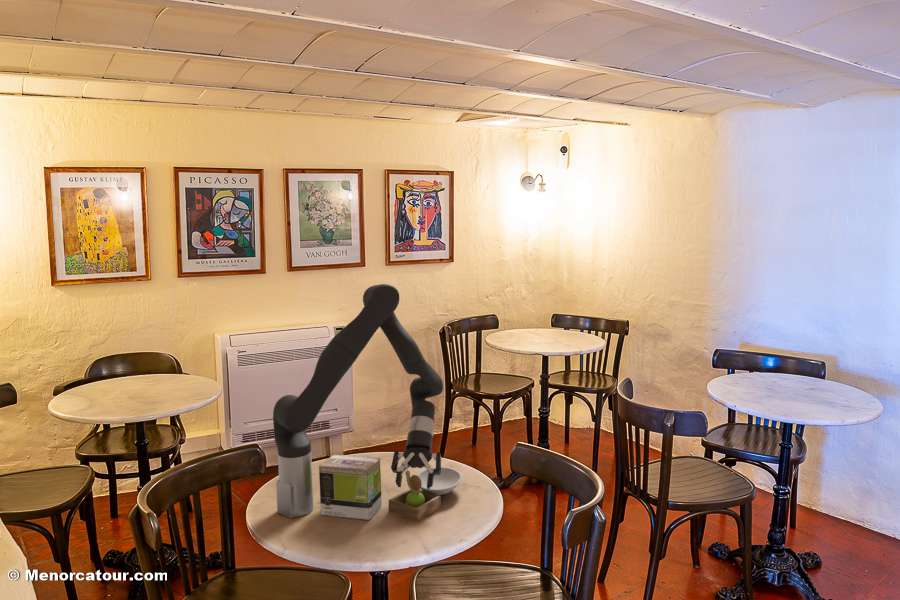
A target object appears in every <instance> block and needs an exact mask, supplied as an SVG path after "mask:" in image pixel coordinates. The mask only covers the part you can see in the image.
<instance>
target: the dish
mask: <svg viewBox="0 0 900 600" xmlns="http://www.w3.org/2000/svg"><path fill="white" fill-rule="evenodd" d="M431 468H432V469H436V466H434V467H432V466H431ZM428 474H429V473H428V471H427V470H426V468H425V469H422V470H421V471H419V472H418V473H417V474H416V475H417V476H418V477H419V478H420V479H421V483H422V485H421V488H420V490H423V491H426V492H429V493H432V494H435V495H438V496H442V495H446V494H448V493H451V492H452V491H453V490H454V489H456V488H457V486H458V485H459V484H460V483H461V482H462V480H463V474H462V473H461V472H460V471H459V470H457V469H455V468H453V467H448V466H441V474H440V475H435V476H434V479H433V486H432V487H430V489H427V480H428Z"/></svg>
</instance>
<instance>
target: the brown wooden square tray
mask: <svg viewBox="0 0 900 600" xmlns="http://www.w3.org/2000/svg"><path fill="white" fill-rule="evenodd" d="M420 490H421V493H422V494H423V496H424V498H425V503H424V504H423V505H421V506H419V507H417V508H416V507H413V506H410V505H407V504H406V498H407V495H408V494H409V493H410V492H412V490H411V489H410V488H409V489H406V490H404V491H402V492H401V493H399V494H397V495H395V496H393V497H391V498H390V499H388V512H389V513H391V514H395V515H397V516H400V517H403V518H406V519H408V520H412V521H415V522H419V521H422V520H423V519H424V518H427V517H428V516H430V515H431V514H433V513H435V512H436V511H438V510H440V509H441V507H442V500H441V498H442V497H441V496H442V495H435V494H432V493H429V492H426V491H423V490H422V489H420Z"/></svg>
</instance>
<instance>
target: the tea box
mask: <svg viewBox="0 0 900 600" xmlns="http://www.w3.org/2000/svg"><path fill="white" fill-rule="evenodd" d="M381 472H382V471H381V458H380V457H370V456H357V455H347V454H345V455H344V454H332V455H331V456H330V457H329V458H328V459H326V460H325V461H323V462H322V463H321V464H319V466H318V477H319V500H320V501H319V502H320V514H321V515H322V516H332V517H338V518H340V517H341V518H349V519H357V520H359V519H360V520H367V521H370V520H371V518H372V517H374V515H375V514H376V513H377V512H378V511H379V509H380V508H381V507H382V478H381V477H382V474H381Z"/></svg>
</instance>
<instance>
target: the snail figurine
mask: <svg viewBox="0 0 900 600" xmlns="http://www.w3.org/2000/svg"><path fill="white" fill-rule="evenodd" d="M406 468H407V470H405V471H404V473H405V475H406V477H405V478H406V483H407V486H408V488H409V489H411V490H412V492H410V493H409V494H408V495H407V498H406V504H407V505H410V506H413V507H416V508H417V507H419V506H421V505H423V504H424V503H425V498H424V496H423V494H422V493H421V490H422V489H421V485H422V483H421V479H420V478H419V477H418V476H417V474H412V475H411V471H410V470H409V468H408V466H407V467H405V469H406Z"/></svg>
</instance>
